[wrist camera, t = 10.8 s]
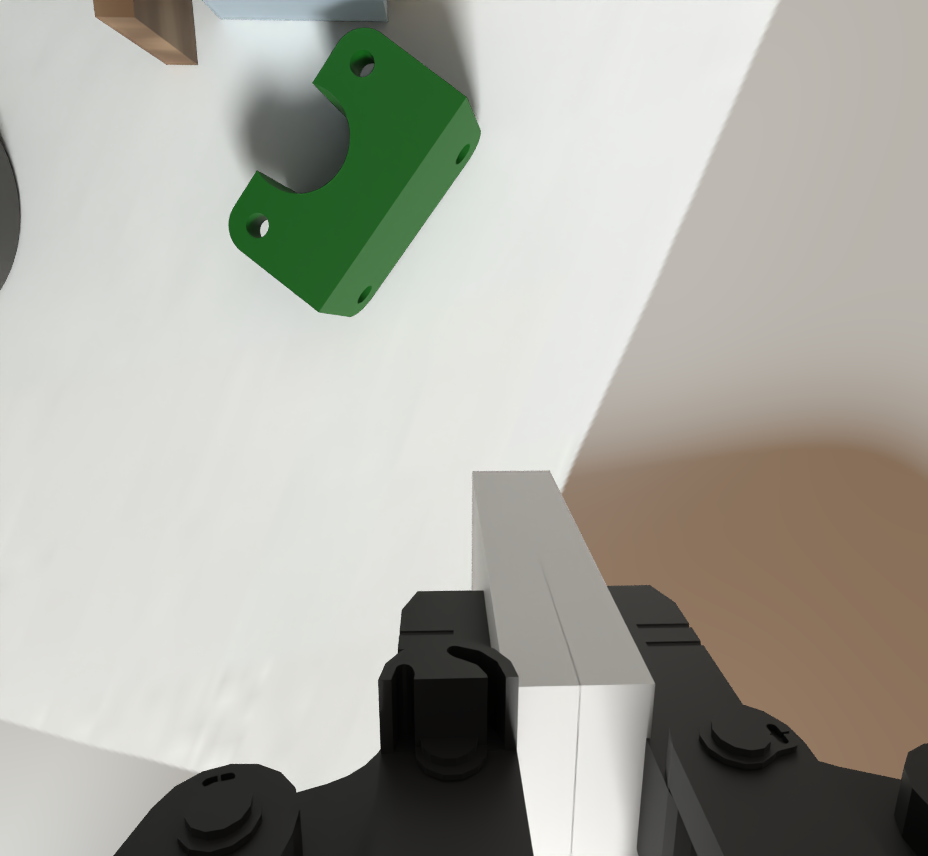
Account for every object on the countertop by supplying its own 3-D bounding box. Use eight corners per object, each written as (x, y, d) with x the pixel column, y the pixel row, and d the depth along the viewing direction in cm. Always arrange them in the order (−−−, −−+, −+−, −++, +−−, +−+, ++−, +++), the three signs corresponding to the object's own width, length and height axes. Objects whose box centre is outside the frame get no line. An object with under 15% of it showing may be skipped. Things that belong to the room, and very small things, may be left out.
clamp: (387, 124, 38) (382, -12, 29) (470, 187, 37) (491, 69, 28) (241, 276, 35) (187, 178, 26) (329, 345, 35) (304, 269, 26)
